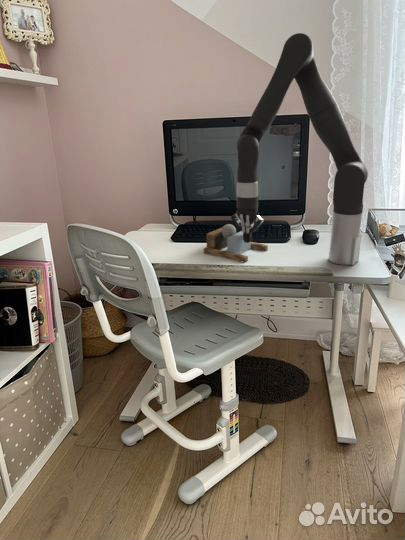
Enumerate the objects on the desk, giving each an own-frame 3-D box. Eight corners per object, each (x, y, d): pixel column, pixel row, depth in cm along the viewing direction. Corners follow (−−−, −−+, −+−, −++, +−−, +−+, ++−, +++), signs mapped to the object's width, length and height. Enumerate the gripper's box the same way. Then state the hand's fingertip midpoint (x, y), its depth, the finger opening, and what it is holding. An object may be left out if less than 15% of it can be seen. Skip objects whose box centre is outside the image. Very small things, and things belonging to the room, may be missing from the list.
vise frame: (267, 250, 160) (268, 232, 158) (245, 262, 148) (245, 243, 146) (227, 242, 170) (227, 225, 168) (203, 253, 159) (203, 235, 156)
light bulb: (220, 251, 161) (217, 225, 158) (229, 247, 164) (226, 222, 161) (232, 252, 157) (229, 226, 154) (240, 248, 161) (238, 222, 158)
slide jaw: (250, 248, 162) (250, 231, 160) (234, 257, 153) (234, 239, 151) (242, 246, 164) (243, 229, 161) (226, 255, 155) (226, 237, 153)
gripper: (269, 194, 148) (268, 242, 154) (237, 191, 155) (237, 237, 161) (258, 198, 142) (258, 248, 148) (225, 194, 150) (226, 242, 156)
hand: (247, 242), depth 155 cm, fingers closed
